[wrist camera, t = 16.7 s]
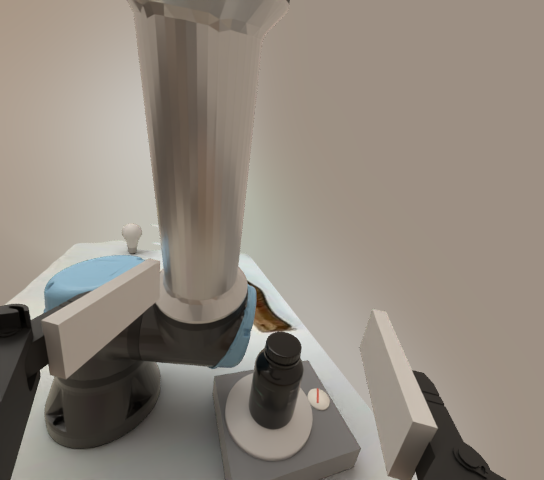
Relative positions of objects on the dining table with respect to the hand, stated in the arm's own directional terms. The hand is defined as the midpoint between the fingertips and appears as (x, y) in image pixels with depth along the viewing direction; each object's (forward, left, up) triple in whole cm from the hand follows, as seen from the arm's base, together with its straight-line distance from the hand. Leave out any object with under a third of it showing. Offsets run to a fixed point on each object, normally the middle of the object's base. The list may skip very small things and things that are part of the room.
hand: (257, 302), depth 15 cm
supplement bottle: (+9, +12, -27) cm, 31 cm away
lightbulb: (-18, +81, -32) cm, 89 cm away
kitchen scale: (+11, +12, -32) cm, 36 cm away
